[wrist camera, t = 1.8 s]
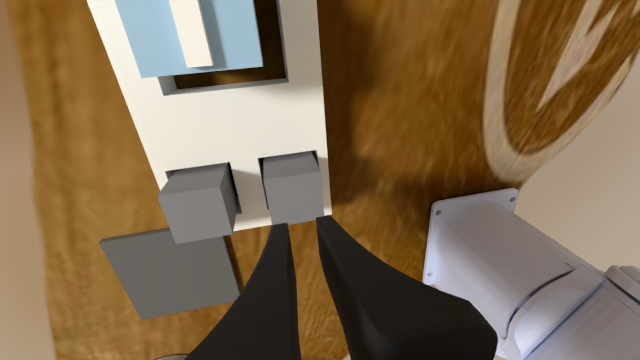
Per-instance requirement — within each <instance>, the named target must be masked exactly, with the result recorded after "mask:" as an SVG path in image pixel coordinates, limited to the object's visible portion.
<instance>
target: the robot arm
mask: <svg viewBox="0 0 640 360" xmlns="http://www.w3.org/2000/svg"><path fill="white" fill-rule="evenodd" d="M518 193H519V191H518V190H517V189H515V188H508V189H503V190H497V191H491V192H485V193H480V194H474V195H468V196H462V197H457V198H451V199H445V200H439V201H436V202H434V203H433V204H432V207H431V215H430V223H429V232H428V240H427V248H426V256H425V265H424V273H423V283H422V282H420V281H417V280H415V279H413V278H411V277H409V276H407V275H406V274H404V273H402V272H400V271H398V270H396V269H394V268H393V267H391V266H389V265H388V264H386V263H385V262H383V261H382V260H380V259H379V258H377V257H376V256H374V255H373V254H372V253H370V252H369V251H368V250H366V249H365V248H364V247H363V246H361V245H360V244H359V243H358V242H357V241H356V240H355V239H353V238H352V237H351V236H350V235H349V234H348V233H347V232H346V231H345V230H344V229H343V228H342V227H341V226H340V225H339V224H338V223H337V222H336V221H335V220H334V219H333V218H332V217H331V216H330V215H327V216H322V217H316V225H317V235H318V245H319V254H320V259H321V263H322V267H323V271H324V275H325V278H326V281H327V284H328V287H329V290H330V292H331V295H332V298H333V301H334V304H335V306H336V309H337V312H338V315H339V317H340V320H341V324H342V327H343V330H344V334H345V338H346V341H347V345H348V349H349V353H350V357H351V360H493V359H494V356H495V354H496V355H498V356H500V357H502V358H505V359H509V360H640V269H639V268H636V267H634V266H621V267H619V266H616V265H612V266H610V267H609V269H608V270H607V271H606V272H603V271H601V270H598V269H597V268H595V267H593V266H592V265H590V264H589V263H588V262H586V261H585V260H583V259H582V258H580V257H579V256H577V255H575V254H574V253H572V252H571V251H569V250H568V249H566V248H565V247H563V246H562V245H560V244H559V243H557V242H556V241H554V240H553V239H551V238H550V237H548V236H547V235H545V234H543V233H542V232H541V231H539V230H538V229H536V228H535V227H533V226H532V225H530V224H529V223H527V222H526V221H524V220H523V219H521V218H520V217H518V216H517V215H515V214H514V213H513V211H514V208H515V204H516V201H517V197H518ZM437 211H438V212H437ZM436 212H437V213H436ZM432 284H435V286H436V287H437V288H438V289H436V288H433V287H431V286H429V285H432ZM184 360H301V352H300V344H299V333H298V312H297V287H296V275H295V268H294V262H293V255H292V249H291V243H290V236H289V230H288V224H287V223H281V224H275V225H273V226H272V227H271V230H270V234H269V237H268V240H267V243H266V245H265V248H264V250H263V252H262V255H261V257H260V259H259V261H258V263H257V265H256V267H255V269H254V271H253V273H252V275H251V277H250V279H249V280H248V282H247V284H246V285H245V287H244V288H243V290H242V292H241V293H240V295H239V296H238V297H237V299H236V300H235V302H234V303H233V305H232V306H231V307H230V309H229V310H228V311H227V313H226V314H225V315H224V316H223V318H222V319H221V320H220V321H219V322H218V324H217V325H216V326H215V327H214V328H213V329H212V331H211V332H210V333H209V334H208V335H207V336H206V338H205V339H204V340H203V341H202V342H201V343H200V344H199V345H198V346H197V347H196V348H195V349H194V350H193V351H192V352H191V353H190V354H189V355H188V356H187V357H186V358H185V359H184Z"/></svg>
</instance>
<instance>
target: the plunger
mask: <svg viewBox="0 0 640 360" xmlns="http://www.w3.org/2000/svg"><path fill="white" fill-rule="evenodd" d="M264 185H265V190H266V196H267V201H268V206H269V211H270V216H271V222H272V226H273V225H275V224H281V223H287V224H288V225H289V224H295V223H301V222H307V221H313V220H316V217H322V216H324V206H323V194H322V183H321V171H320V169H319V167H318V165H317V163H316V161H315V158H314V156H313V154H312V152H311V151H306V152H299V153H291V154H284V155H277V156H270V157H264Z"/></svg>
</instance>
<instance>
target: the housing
mask: <svg viewBox="0 0 640 360" xmlns="http://www.w3.org/2000/svg"><path fill="white" fill-rule="evenodd" d="M87 2H88V5H89V7H90V10H91V12H92V15H93V18H94V20H95V23H96V25H97V28H98V31H99V33H100V36H101V38H102V41H103V43H104V46H105V49H106V51H107V54H108V56H109V59H110V62H111V64H112V67H113V69H114V72H115V75H116V77H117V80H118V82H119V85H120V87H121V90H122V93H123V95H124V98H125V100H126V103H127V106H128V108H129V111H130V113H131V116H132V118H133V121H134V124H135V126H136V129H137V131H138V134H139V137H140V139H141V142H142V144H143V147H144V149H145V152H146V155H147V157H148V160H149V162H150V165H151V168H152V170H153V173H154V175H155V178H156V180H157V183H158V186H159V188H160V191H161V190H162V188H163V187H164V186H165V184H166V183H167V181H168V180H169V179H170V177H171V176H172V174H173V173H174V172H175V170H177V169H184V168H191V167H198V166H205V165H212V164H219V163H227V162H230V165H231V169H232V173H233V177H234V181H235V185H236V189H237V193H238V196H236V199H237V203H238V206H237V212H236V218H235V224H234V230H233V231H237V230H243V229H249V228H255V227H260V226H266V225H272V222H271V216H270V211H269V206H268V201H267V196H266V190H265V185H264V173H263V167H262V162H261V158H262V157H270V156H277V155H284V154H291V153H298V152H305V151H312V153H313V156H314V158H315V161H316V163H317V165H318V167H319V169H320V171H321V183H322V194H323V206H324V215H330V214H332V211H331V197H330V183H329V169H328V155H327V141H326V127H325V113H324V98H323V84H322V70H321V56H320V42H319V28H318V14H317V0H276V4H277V12H278V20H279V28H280V36H281V44H282V51H283V59H284V67H285V75H286V78H283V79H273V80H263V81H254V82H244V83H234V84H225V85H215V86H205V87H196V88H186V89H177V87H176V84H175V80H174V77H173V75H170V76H160V77H149V78H141V75H140V72H139V69H138V66H137V63H136V60H135V58H134V55H133V52H132V49H131V46H130V43H129V40H128V38H127V35H126V32H125V29H124V26H123V23H122V20H121V17H120V15H119V12H118V9H117V6H116V3H115V0H87Z"/></svg>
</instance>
